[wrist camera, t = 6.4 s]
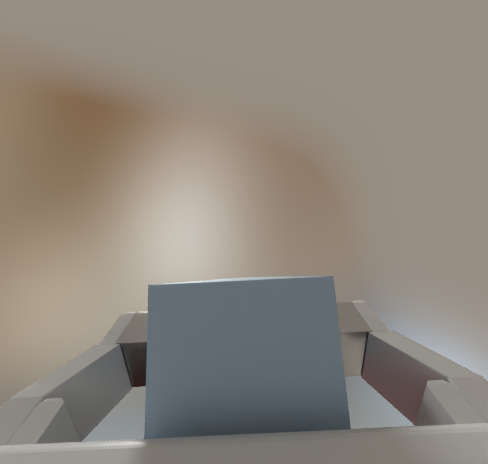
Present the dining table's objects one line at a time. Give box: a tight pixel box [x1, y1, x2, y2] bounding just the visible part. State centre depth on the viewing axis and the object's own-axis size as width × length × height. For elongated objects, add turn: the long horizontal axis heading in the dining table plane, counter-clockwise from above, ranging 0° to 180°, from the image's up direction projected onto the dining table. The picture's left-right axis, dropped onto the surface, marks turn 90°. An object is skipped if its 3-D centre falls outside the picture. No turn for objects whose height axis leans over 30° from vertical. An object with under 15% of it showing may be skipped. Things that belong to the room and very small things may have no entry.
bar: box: [144, 276, 351, 439], centre depth 16 cm, size 22×4×4 cm, turn 179°
